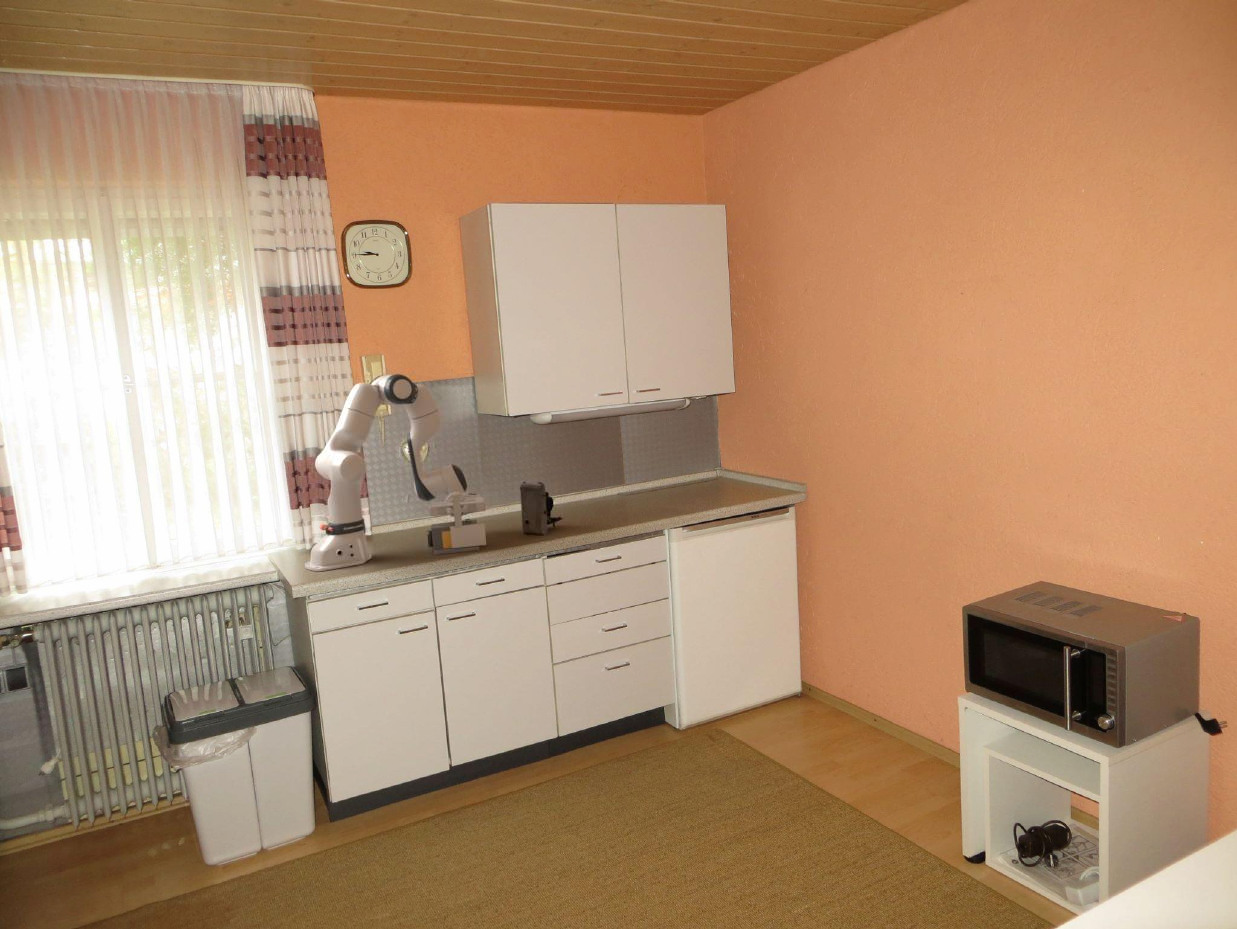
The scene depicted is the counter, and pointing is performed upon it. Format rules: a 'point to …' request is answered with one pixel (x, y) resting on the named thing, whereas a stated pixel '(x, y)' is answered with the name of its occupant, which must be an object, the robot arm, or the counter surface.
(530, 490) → the vintage camera
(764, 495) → the counter surface
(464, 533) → the side door
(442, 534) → the camera housing
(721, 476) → the counter surface
